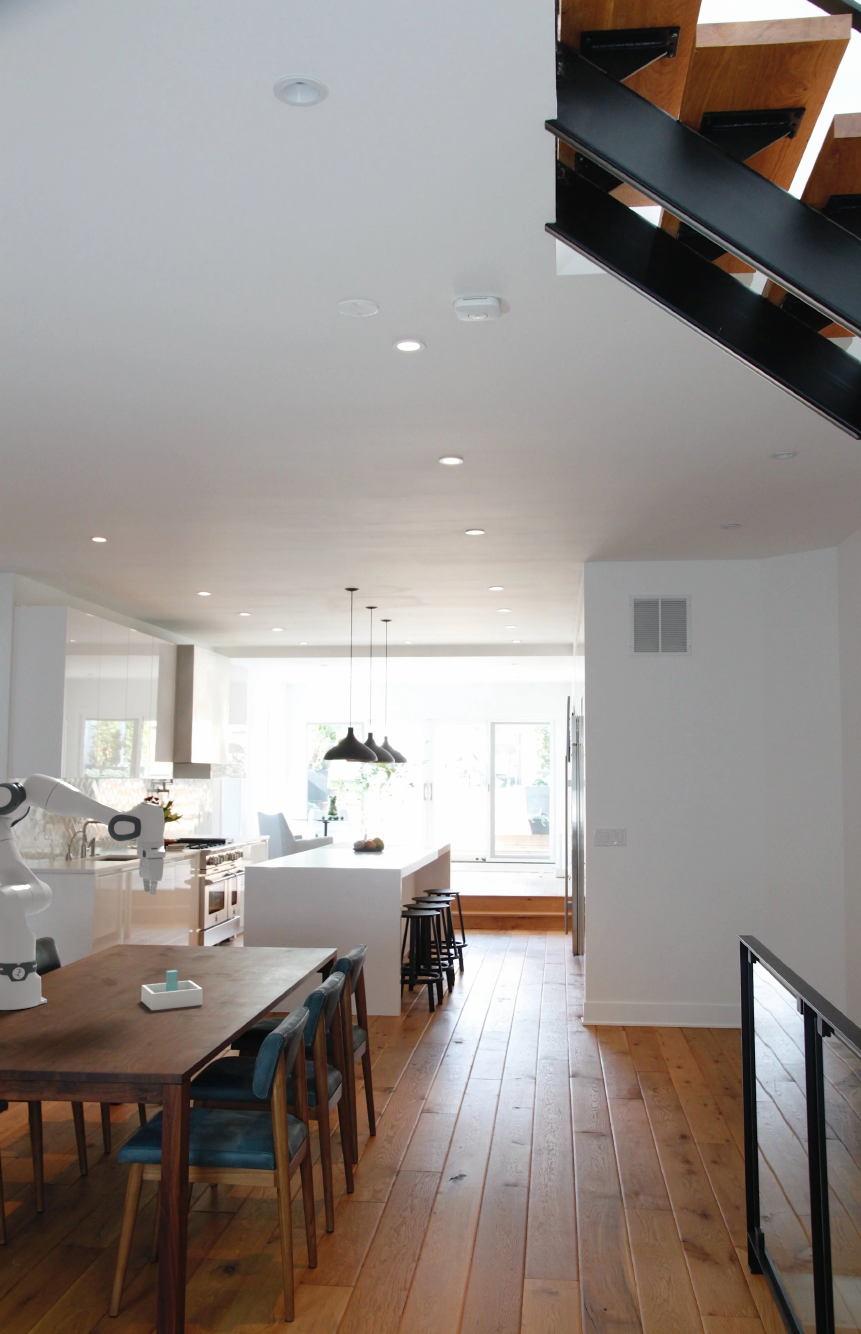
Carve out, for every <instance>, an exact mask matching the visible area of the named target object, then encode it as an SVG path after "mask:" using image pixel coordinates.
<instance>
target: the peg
mask: <svg viewBox="0 0 861 1334" xmlns="http://www.w3.org/2000/svg"><path fill="white" fill-rule="evenodd" d="M165 977H166V978H165V983H166V992H170V991H178V982H179V979H178V978H179V970H176V969H174V970H173V969H172V970H165Z"/></svg>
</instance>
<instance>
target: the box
mask: <svg viewBox="0 0 861 1334" xmlns="http://www.w3.org/2000/svg"><path fill="white" fill-rule="evenodd" d="M203 993H204V991H203V988H202V987H201V986H199V985H198V984H196V983H195V982H194V981H193V980H182V981H181V980H178V991H170V992H166V982H159V983H151V984H141V996H140V997H141V998H140V999H141V1002H142V1003H143V1004H144V1005H145V1006H146V1007H148V1008H149V1010H150V1011H158V1010H159V1011H160V1010H168V1009H177V1008H185V1007H195V1006H202V1005H203V1002H204V1001H203Z"/></svg>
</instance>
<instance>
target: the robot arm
mask: <svg viewBox="0 0 861 1334" xmlns="http://www.w3.org/2000/svg"><path fill="white" fill-rule="evenodd" d="M31 807H36V808H40V809H42V810H44V811H46V812H48V813H50V814H53V815H57V816H60V817H65V818H84V819H85V818H86V819H91V820H94V821H96V822H99V823H101V824H104V825H106V826H107V831H108V834H109V836H110V838H111V839H113V840H115V841H117V842H120V843H124V842H125V843H126V842H130V841H131V842H136V857H137V858H139V864H138V865H139V866H138V876H139V878H142V884H143V892H145V893H149V894H150V895H152V896H153V895H157V888H158V882H161V881H162V880H163V874H164V865H165V863H164V858H166V850H165V838H164V831H165V814H164V812H165V811H164V808H163V807H162V806H161V805H160V804H158V803H154V802H140V803H139V804H138V805H137V806H135V807H134V808H132V809H129V810H126V811H123V810H121V809H118V808H115V807H112V806H111V805H108V804H106V803H103V802H100V801H99V800H97V799H94V798H93V797H92V796H90V795H88V794H87V793H85V792H83V791H81V790H80V789H78V788H77V787H75V786H73V785H71V784H69V783H67V782H65V781H64V780H61V779H59V778H56V777H53V776H49V775H46V774H42V773H32V774H31V775H29V776H28V777H27V778H26V779H25V781H24V782H23V783H20V782H17V781H16V782H14V781H13V782H2V783H0V884H1V885H0V1011H11V1010H13V1011H14V1010H21V1009H23V1010H24V1009H28V1008H33V1007H36V1006H38V1005H42V1004H47V1003H48V999H47V998H45V997H43V996H42V977H41V976H40V975H39V974H38V973H37V972H36V971H38V970H37V968H38V967H37V966H38V963H37V962H38V961H37V959H36V948H37V947H36V946H37V943H36V941H37V938H36V937H37V936H36V934H35V932H34V931H33V930H31V929H30V928H29V926H28V922H27V917H28V916H32V915H33V916H34V915H37V914H39V913H41V912H43V911H45V910H46V909H48V908H49V907H50V905H51V904H52V902H53V891H52V888H51V887H50V886H49V885H48V884H47V883H46V882H44V881H42V880H40V878H38V877H37V876H36V875H35V874H34V872H33V871H32V870H31V869H30V867H28V865H27V864H26V862H25V861H24V859H23V856H22V855H21V852H20V850H19V847H18V845H17V842H16V841H15V837H14V836H13V833H12V830H11V828H13V827H15V826H16V825H17V824H18V823H19V822H21V821H22V820H24V819H25V818H26V817H27V816H28V814H29V813H30V810H31Z"/></svg>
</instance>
